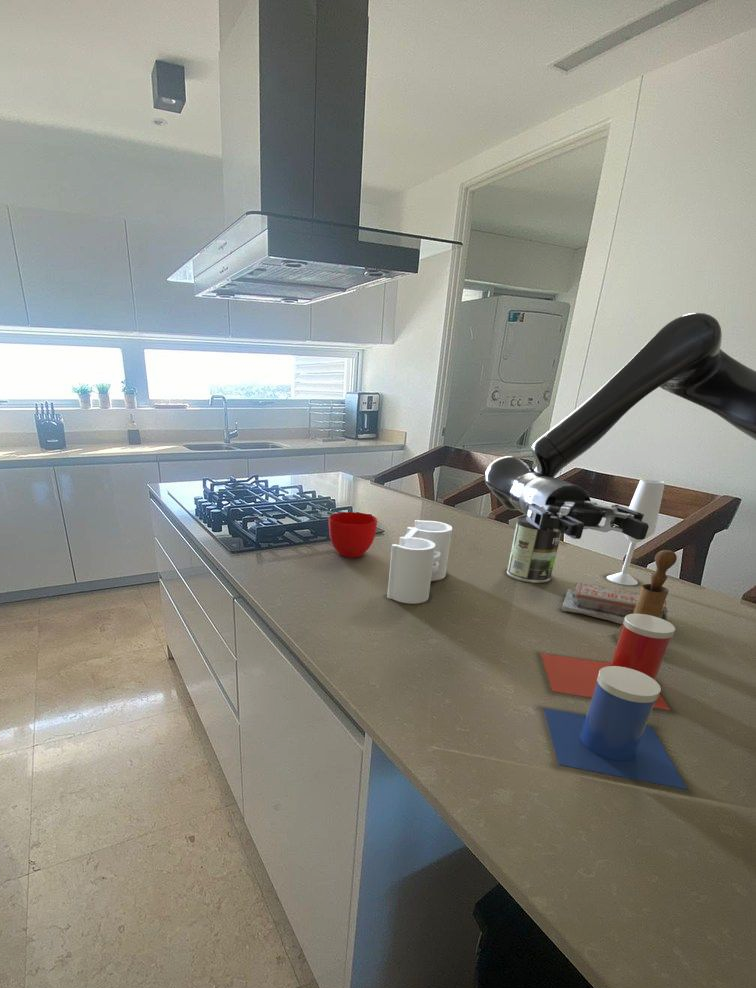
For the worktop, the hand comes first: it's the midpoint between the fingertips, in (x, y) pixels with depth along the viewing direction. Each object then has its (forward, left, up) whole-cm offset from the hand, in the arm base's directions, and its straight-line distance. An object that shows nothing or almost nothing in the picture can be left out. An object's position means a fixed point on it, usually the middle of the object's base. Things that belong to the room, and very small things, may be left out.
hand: (612, 532), depth 64 cm
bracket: (+25, -39, -26) cm, 53 cm away
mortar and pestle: (-16, -22, -26) cm, 38 cm away
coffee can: (-1, -53, -26) cm, 59 cm away
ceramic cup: (+44, -57, -26) cm, 77 cm away
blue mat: (-3, +11, -26) cm, 28 cm away
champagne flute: (-23, -57, -26) cm, 67 cm away
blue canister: (-3, +10, -26) cm, 28 cm away
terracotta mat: (-6, -6, -26) cm, 27 cm away
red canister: (-11, -8, -26) cm, 29 cm away
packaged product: (-15, -35, -26) cm, 47 cm away
